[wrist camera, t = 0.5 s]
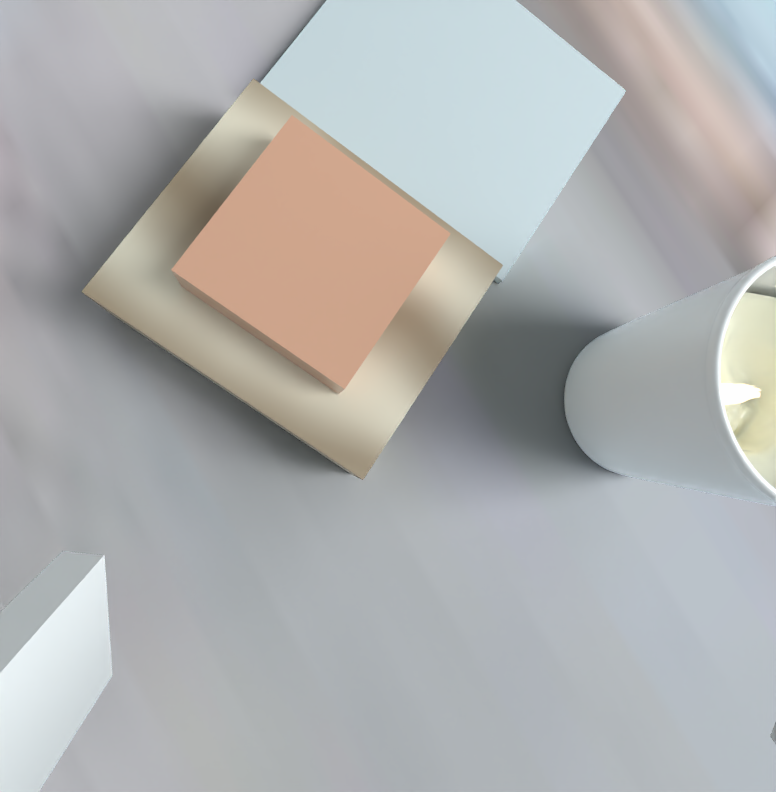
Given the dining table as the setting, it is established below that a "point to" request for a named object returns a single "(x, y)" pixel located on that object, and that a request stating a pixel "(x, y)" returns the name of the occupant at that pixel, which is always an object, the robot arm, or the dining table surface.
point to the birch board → (248, 356)
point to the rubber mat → (452, 106)
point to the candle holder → (686, 392)
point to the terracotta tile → (311, 255)
